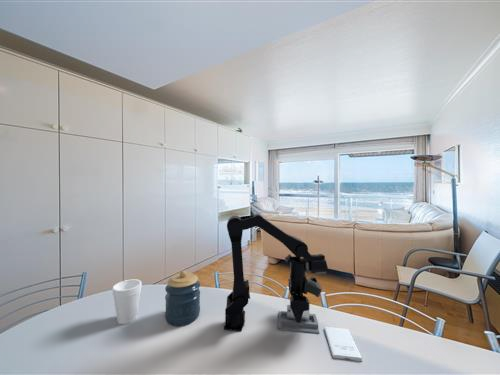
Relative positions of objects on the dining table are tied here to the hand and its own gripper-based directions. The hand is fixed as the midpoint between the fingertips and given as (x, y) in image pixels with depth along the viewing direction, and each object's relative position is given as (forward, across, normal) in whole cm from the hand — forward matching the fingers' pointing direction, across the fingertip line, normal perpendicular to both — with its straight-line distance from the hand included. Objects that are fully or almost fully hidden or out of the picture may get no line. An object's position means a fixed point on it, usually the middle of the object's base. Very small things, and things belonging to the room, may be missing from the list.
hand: (297, 314), depth 78 cm
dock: (+3, 0, 0) cm, 3 cm away
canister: (+3, -3, +44) cm, 44 cm away
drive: (+2, 0, 0) cm, 2 cm away
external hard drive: (+4, -9, -13) cm, 16 cm away
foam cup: (+3, -8, +64) cm, 65 cm away
